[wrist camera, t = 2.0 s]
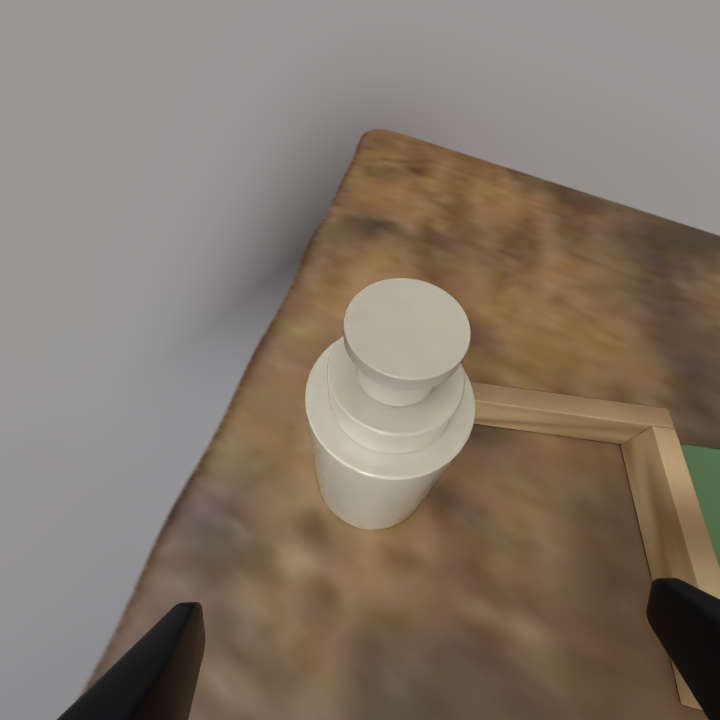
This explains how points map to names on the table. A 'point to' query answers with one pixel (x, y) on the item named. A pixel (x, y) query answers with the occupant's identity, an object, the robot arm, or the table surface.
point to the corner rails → (644, 469)
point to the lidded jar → (390, 402)
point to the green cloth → (706, 487)
